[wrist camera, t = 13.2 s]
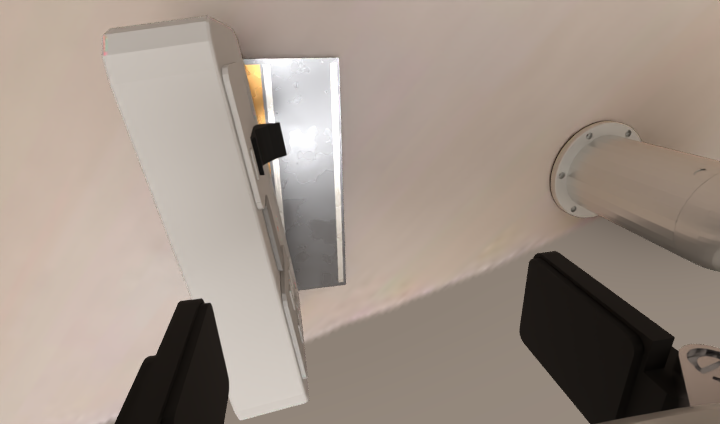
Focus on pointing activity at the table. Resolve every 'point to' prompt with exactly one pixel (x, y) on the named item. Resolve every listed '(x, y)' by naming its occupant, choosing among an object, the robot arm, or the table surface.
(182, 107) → the rounded white slab
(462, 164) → the table surface
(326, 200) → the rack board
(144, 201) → the table surface
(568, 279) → the robot arm
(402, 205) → the table surface
